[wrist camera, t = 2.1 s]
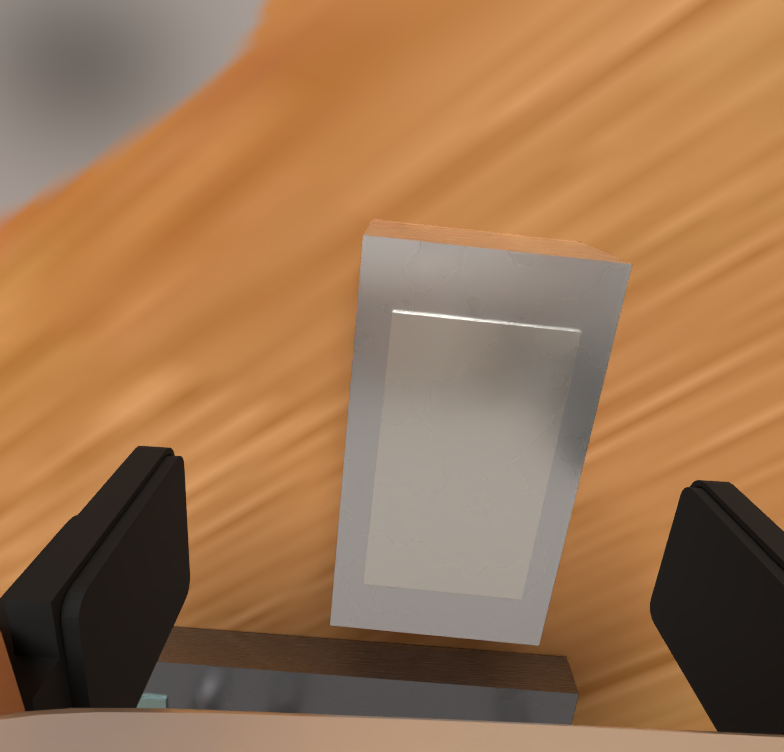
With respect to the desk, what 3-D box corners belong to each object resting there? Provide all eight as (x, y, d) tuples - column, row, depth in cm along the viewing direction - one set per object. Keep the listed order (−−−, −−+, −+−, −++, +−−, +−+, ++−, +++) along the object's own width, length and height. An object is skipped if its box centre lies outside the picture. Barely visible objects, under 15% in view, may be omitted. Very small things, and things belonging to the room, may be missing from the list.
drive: (577, 240, 16) (634, 265, 12) (512, 550, 19) (539, 648, 15) (373, 218, 16) (363, 235, 12) (344, 533, 19) (329, 628, 15)
